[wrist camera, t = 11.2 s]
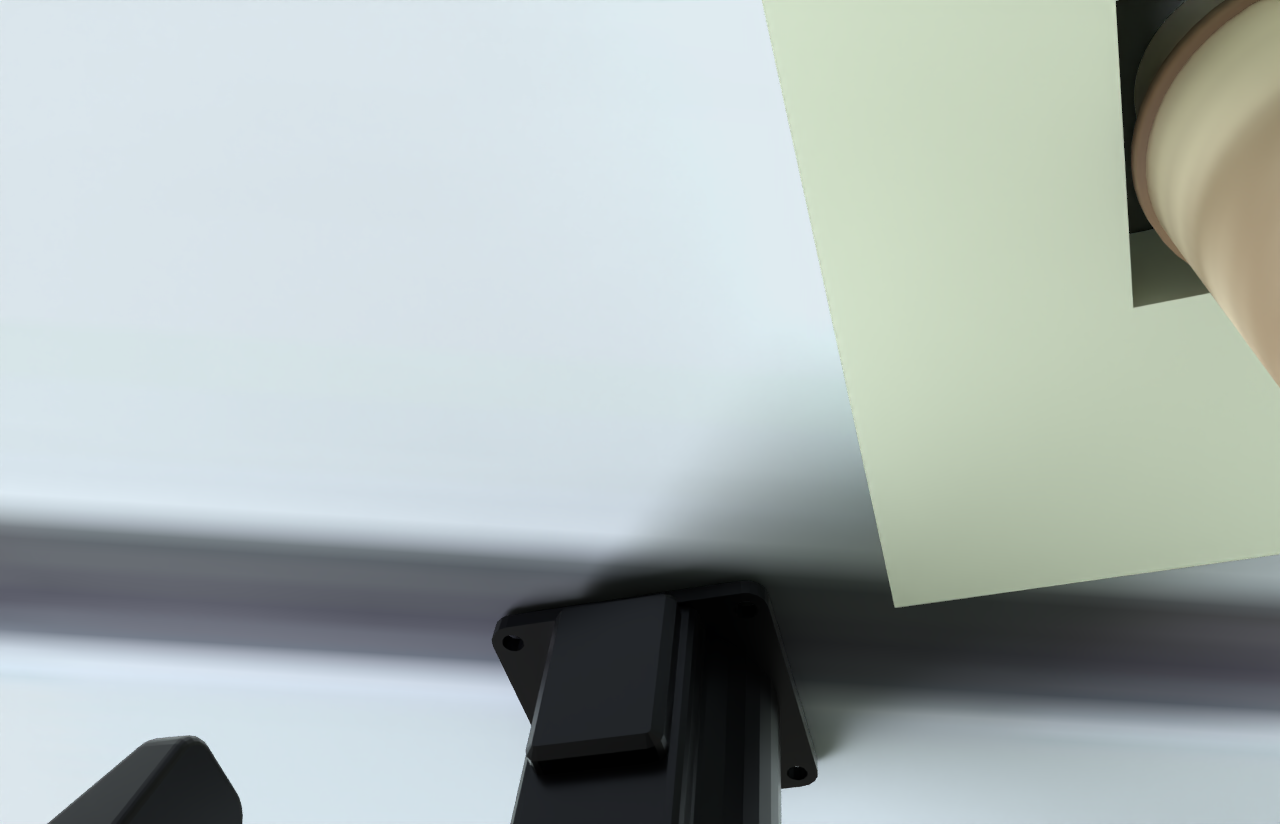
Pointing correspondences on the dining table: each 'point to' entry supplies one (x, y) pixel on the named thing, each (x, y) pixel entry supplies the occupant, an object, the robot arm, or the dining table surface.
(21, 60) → the dining table surface
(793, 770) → the robot arm
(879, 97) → the board
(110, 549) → the dining table surface
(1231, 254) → the peg
